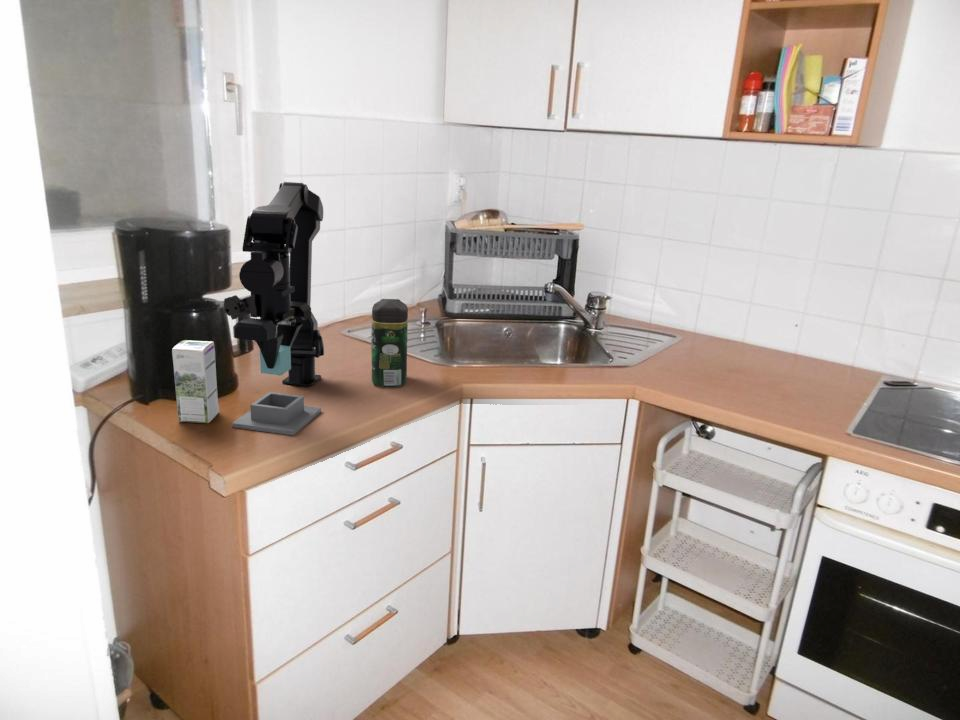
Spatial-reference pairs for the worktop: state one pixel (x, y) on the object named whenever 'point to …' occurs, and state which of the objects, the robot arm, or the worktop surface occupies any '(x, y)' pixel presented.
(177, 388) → the syrup box
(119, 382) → the worktop surface
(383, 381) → the coffee jar
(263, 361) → the peg
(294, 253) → the robot arm
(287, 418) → the socket
